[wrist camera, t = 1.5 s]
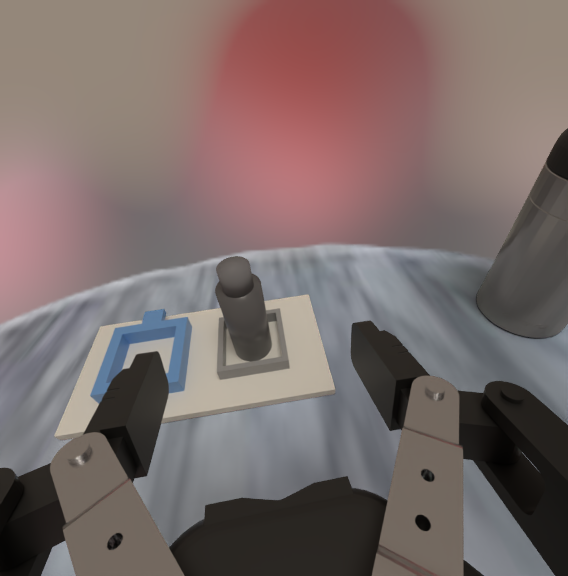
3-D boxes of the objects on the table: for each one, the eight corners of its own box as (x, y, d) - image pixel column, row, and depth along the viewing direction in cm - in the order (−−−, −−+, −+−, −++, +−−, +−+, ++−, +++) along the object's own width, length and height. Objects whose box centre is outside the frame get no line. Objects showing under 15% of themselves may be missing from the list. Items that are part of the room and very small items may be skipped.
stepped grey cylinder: (249, 325, 37) (229, 247, 29) (279, 339, 35) (266, 259, 27) (227, 351, 34) (198, 273, 26) (257, 367, 32) (236, 289, 24)
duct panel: (308, 299, 41) (308, 283, 39) (334, 393, 30) (335, 379, 28) (104, 331, 40) (92, 316, 37) (60, 440, 29) (40, 428, 27)
